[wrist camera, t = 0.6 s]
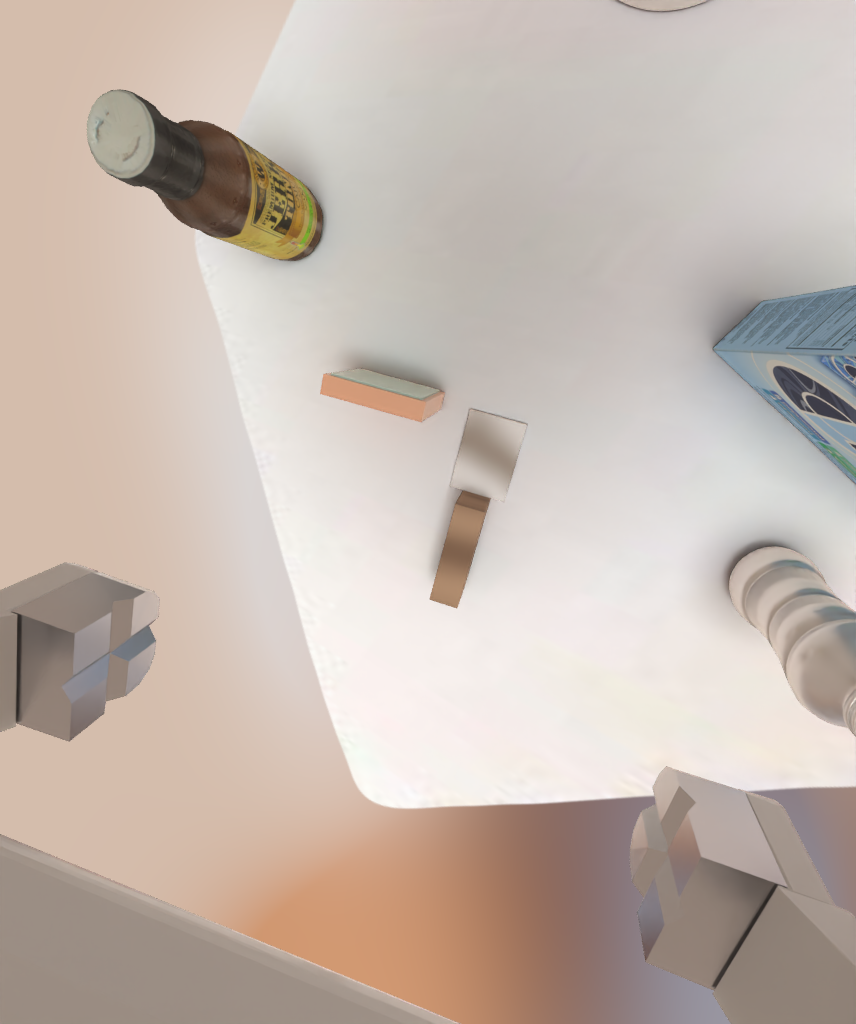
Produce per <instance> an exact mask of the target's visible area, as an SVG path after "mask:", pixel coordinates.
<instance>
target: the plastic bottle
mask: <svg viewBox="0 0 856 1024" xmlns="http://www.w3.org/2000/svg"><path fill="white" fill-rule="evenodd" d="M729 590H730V594H731V598H732V602H733V605H734V607H735V609H736V610H737V611H738V613H739V614H740V615H741V616H742V617H743V618H744V619H745V620H746V621H747V622H749V623H750V624H751V625H752V626H754V627H755V628H757V629H758V630H759V631H760V632H761V633H762V635H763V636H764V637H765V638H766V639H767V640H768V641H769V643H770V644H771V646H772V648H773V649H774V651H775V653H776V655H777V656H778V658H779V660H780V663H781V665H782V668H783V670H784V673H785V675H786V678H787V680H788V683H789V685H790V687H791V689H792V691H793V693H794V694H795V696H796V698H797V700H798V701H799V702H800V703H801V704H802V706H803V707H805V708H806V709H807V710H809V711H810V712H811V713H813V714H814V715H816V716H817V717H819V718H820V719H822V720H824V721H826V722H828V723H830V724H834V725H837V726H841V727H846V728H849V729H850V731H851V732H852V733H853V734H854V735H855V736H856V612H855V611H854V610H853V609H851V608H850V607H849V606H847V605H846V604H845V603H844V602H842V601H841V600H840V599H839V598H837V596H836V595H835V594H834V593H833V592H832V590H831V589H830V588H829V587H828V585H827V584H826V582H825V580H824V578H823V576H822V574H821V573H820V571H819V570H818V568H817V567H816V566H815V564H814V563H813V562H812V561H811V560H810V559H808V558H807V557H806V556H804V555H802V554H800V553H798V552H795V551H793V550H791V549H788V548H784V547H776V546H773V547H764V548H761V549H757V550H755V551H753V552H751V553H749V554H748V555H746V556H745V557H743V558H742V559H741V560H740V561H739V562H738V563H737V565H736V566H735V567H734V569H733V571H732V573H731V576H730V580H729Z"/></svg>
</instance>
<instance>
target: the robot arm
mask: <svg viewBox="0 0 856 1024" xmlns="http://www.w3.org/2000/svg"><path fill="white" fill-rule="evenodd" d="M620 1H621V2H623V3H626V4H628V5H630V6H633V7H637V8H641V9H645V10H652V11H670V10H678V9H683V8H688V7H691V6H695V5H697V4H700V3H703V2H705V1H707V0H620ZM159 601H160V599H159V597H158V596H157V595H156V594H155V592H154V591H151V590H148V589H146V588H143V587H140V586H137V585H134V584H132V583H129V582H127V581H123V580H121V579H118V578H115V577H113V576H110V575H107V574H105V573H100V572H98V571H96V570H94V569H91V568H87V567H84V566H81V565H78V564H75V563H63V564H60V565H58V566H56V567H53V568H51V569H49V570H46V571H44V572H42V573H39V574H37V575H35V576H32V577H30V578H28V579H25V580H23V581H21V582H19V583H16V584H14V585H11V586H9V587H7V588H4V589H2V590H0V732H2V731H5V730H7V729H10V728H13V727H15V726H16V723H17V724H20V725H23V726H26V727H29V728H32V729H34V730H38V731H40V732H43V733H46V734H49V735H52V736H55V737H57V738H60V739H63V740H66V741H71V740H72V739H73V738H74V737H75V736H77V735H78V734H79V733H81V732H82V731H83V730H84V729H86V728H87V727H88V726H89V725H91V724H92V723H93V722H94V721H95V720H97V719H98V718H99V717H100V716H102V715H103V714H104V711H105V704H106V701H109V700H113V699H116V698H120V697H124V696H126V695H127V694H128V693H130V692H131V691H132V690H133V689H134V688H135V687H136V686H138V685H139V684H140V682H141V681H142V679H143V678H144V676H145V675H146V673H147V672H148V670H149V669H150V666H151V663H152V660H153V657H154V654H155V647H156V640H155V638H154V635H153V633H152V632H151V629H150V627H149V625H150V624H152V623H153V622H154V621H155V620H156V619H157V618H158V617H159ZM653 792H654V796H655V800H656V804H655V805H653V806H651V807H649V808H647V809H645V810H643V811H641V814H640V816H639V818H638V820H637V823H636V825H635V828H634V831H633V836H632V841H631V847H630V870H631V877H632V882H633V883H634V885H635V886H636V888H637V889H638V890H639V892H640V893H641V895H642V896H643V897H644V899H643V901H642V903H641V905H640V907H639V909H638V911H637V915H638V921H639V927H640V933H641V938H642V945H643V951H644V956H645V962H647V963H649V964H651V965H654V966H656V967H658V968H661V969H663V970H666V971H668V972H670V973H673V974H676V975H678V976H681V977H683V978H685V979H688V980H690V981H692V982H695V983H697V984H699V985H702V986H704V987H707V988H709V989H711V990H714V992H713V995H714V997H715V999H716V1000H717V1002H718V1003H719V1005H720V1007H721V1008H722V1010H723V1011H724V1013H725V1015H726V1016H727V1018H728V1020H729V1021H730V1023H731V1024H856V917H855V916H854V915H853V914H852V913H851V912H849V911H848V910H845V909H842V908H840V907H837V906H835V904H834V902H833V900H832V898H831V896H830V895H829V893H828V891H827V889H826V887H825V885H824V883H823V881H822V879H821V877H820V876H819V873H818V872H817V870H816V868H815V866H814V864H813V862H812V860H811V858H810V856H809V854H808V852H807V851H806V849H805V847H804V845H803V843H802V841H801V839H800V837H799V835H798V834H797V832H796V830H795V828H794V826H793V824H792V822H791V820H790V818H789V816H788V814H787V812H786V810H785V809H784V807H783V806H782V805H780V804H779V803H778V802H777V801H776V800H773V799H770V798H767V797H763V796H760V795H757V794H754V793H750V792H747V791H744V790H741V789H735V788H732V787H729V786H726V785H723V784H719V783H716V782H713V781H710V780H707V779H704V778H701V777H698V776H695V775H692V774H689V773H685V772H682V771H679V770H676V769H673V768H670V767H667V766H666V767H665V768H664V769H663V770H662V771H661V773H660V774H659V775H658V777H657V779H656V782H655V784H654V786H653ZM0 1024H460V1023H457V1022H455V1021H453V1020H450V1019H448V1018H445V1017H443V1016H441V1015H438V1014H436V1013H433V1012H431V1011H428V1010H426V1009H424V1008H421V1007H419V1006H416V1005H414V1004H412V1003H409V1002H407V1001H404V1000H402V999H399V998H397V997H395V996H392V995H390V994H387V993H385V992H382V991H380V990H378V989H375V988H373V987H370V986H368V985H365V984H363V983H361V982H358V981H356V980H353V979H351V978H348V977H346V976H343V975H341V974H339V973H336V972H334V971H332V970H329V969H327V968H324V967H322V966H319V965H317V964H315V963H312V962H310V961H307V960H305V959H302V958H300V957H298V956H295V955H293V954H290V953H288V952H285V951H283V950H281V949H278V948H275V947H273V946H271V945H268V944H266V943H264V942H261V941H259V940H256V939H254V938H251V937H249V936H246V935H244V934H242V933H239V932H237V931H234V930H232V929H230V928H227V927H225V926H222V925H220V924H217V923H215V922H212V921H210V920H208V919H205V918H203V917H200V916H198V915H195V914H193V913H191V912H188V911H186V910H183V909H181V908H178V907H176V906H174V905H171V904H169V903H166V902H164V901H162V900H159V899H157V898H154V897H152V896H149V895H147V894H145V893H142V892H140V891H137V890H135V889H132V888H130V887H128V886H125V885H123V884H120V883H118V882H115V881H113V880H111V879H108V878H106V877H103V876H101V875H98V874H96V873H94V872H91V871H89V870H86V869H84V868H82V867H79V866H77V865H74V864H72V863H69V862H67V861H64V860H62V859H60V858H57V857H55V856H52V855H50V854H47V853H45V852H43V851H40V850H38V849H35V848H33V847H31V846H28V845H26V844H23V843H20V842H18V841H16V840H14V839H11V838H9V837H6V836H4V835H1V834H0Z"/></svg>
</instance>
